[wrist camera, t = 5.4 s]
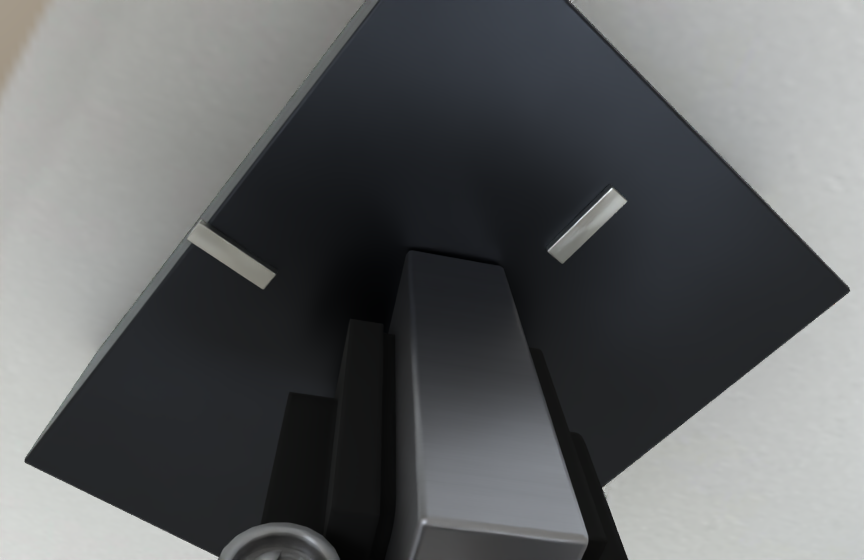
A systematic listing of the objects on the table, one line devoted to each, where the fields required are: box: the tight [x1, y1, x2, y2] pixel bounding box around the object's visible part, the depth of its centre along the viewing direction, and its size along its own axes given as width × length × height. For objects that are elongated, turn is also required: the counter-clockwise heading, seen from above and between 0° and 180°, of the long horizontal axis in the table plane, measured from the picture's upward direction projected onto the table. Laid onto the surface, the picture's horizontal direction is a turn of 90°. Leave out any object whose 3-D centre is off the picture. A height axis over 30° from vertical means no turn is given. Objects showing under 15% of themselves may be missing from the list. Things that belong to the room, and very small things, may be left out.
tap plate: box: [24, 0, 850, 557], centre depth 13 cm, size 12×9×4 cm
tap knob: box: [385, 250, 588, 560], centre depth 9 cm, size 5×2×6 cm, turn 168°
